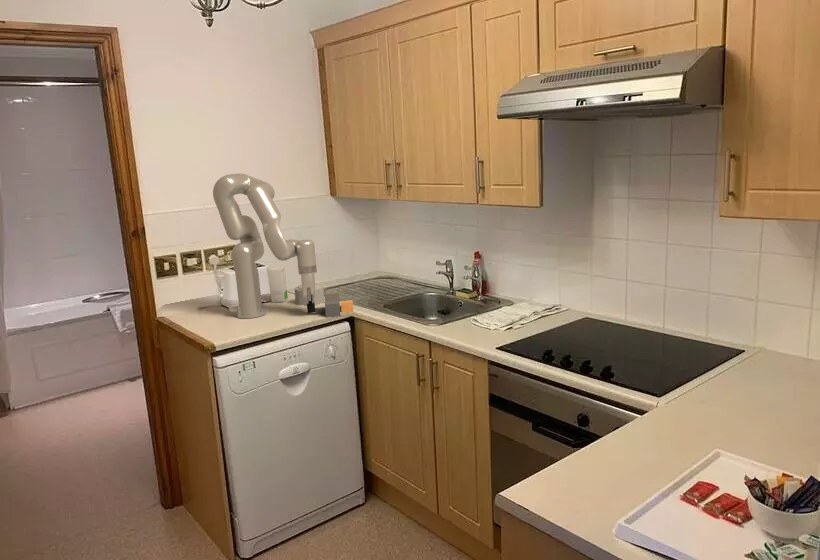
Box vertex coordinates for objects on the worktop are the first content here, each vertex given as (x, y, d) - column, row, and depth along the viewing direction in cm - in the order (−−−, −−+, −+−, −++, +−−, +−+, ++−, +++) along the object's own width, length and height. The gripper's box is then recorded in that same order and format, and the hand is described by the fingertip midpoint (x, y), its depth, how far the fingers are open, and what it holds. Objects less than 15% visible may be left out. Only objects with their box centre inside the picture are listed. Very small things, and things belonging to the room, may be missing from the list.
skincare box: (284, 302, 299) (281, 269, 296) (270, 303, 299) (267, 270, 296) (288, 298, 308) (285, 265, 304) (274, 298, 308) (271, 266, 305)
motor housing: (326, 317, 268) (324, 301, 266) (326, 309, 281) (325, 294, 280) (340, 316, 268) (339, 300, 267) (340, 308, 282) (338, 293, 281)
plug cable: (315, 315, 272) (314, 305, 271) (315, 312, 276) (314, 303, 275) (353, 312, 274) (352, 302, 273) (353, 309, 278) (352, 300, 277)
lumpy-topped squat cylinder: (314, 306, 288) (313, 287, 286) (290, 305, 293) (288, 286, 292) (327, 301, 297) (325, 282, 295) (303, 299, 303) (301, 281, 301)
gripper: (299, 267, 277) (303, 308, 281) (297, 273, 262) (301, 317, 266) (317, 265, 278) (320, 307, 281) (316, 272, 263) (320, 315, 267)
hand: (311, 312), depth 274 cm, fingers closed
